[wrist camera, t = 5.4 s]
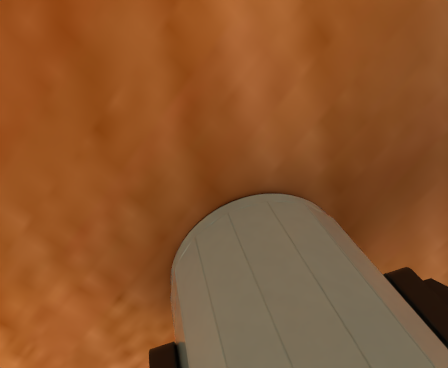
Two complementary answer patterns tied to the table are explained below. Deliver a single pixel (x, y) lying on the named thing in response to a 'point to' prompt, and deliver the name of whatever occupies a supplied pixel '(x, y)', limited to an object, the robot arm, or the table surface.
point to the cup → (288, 295)
